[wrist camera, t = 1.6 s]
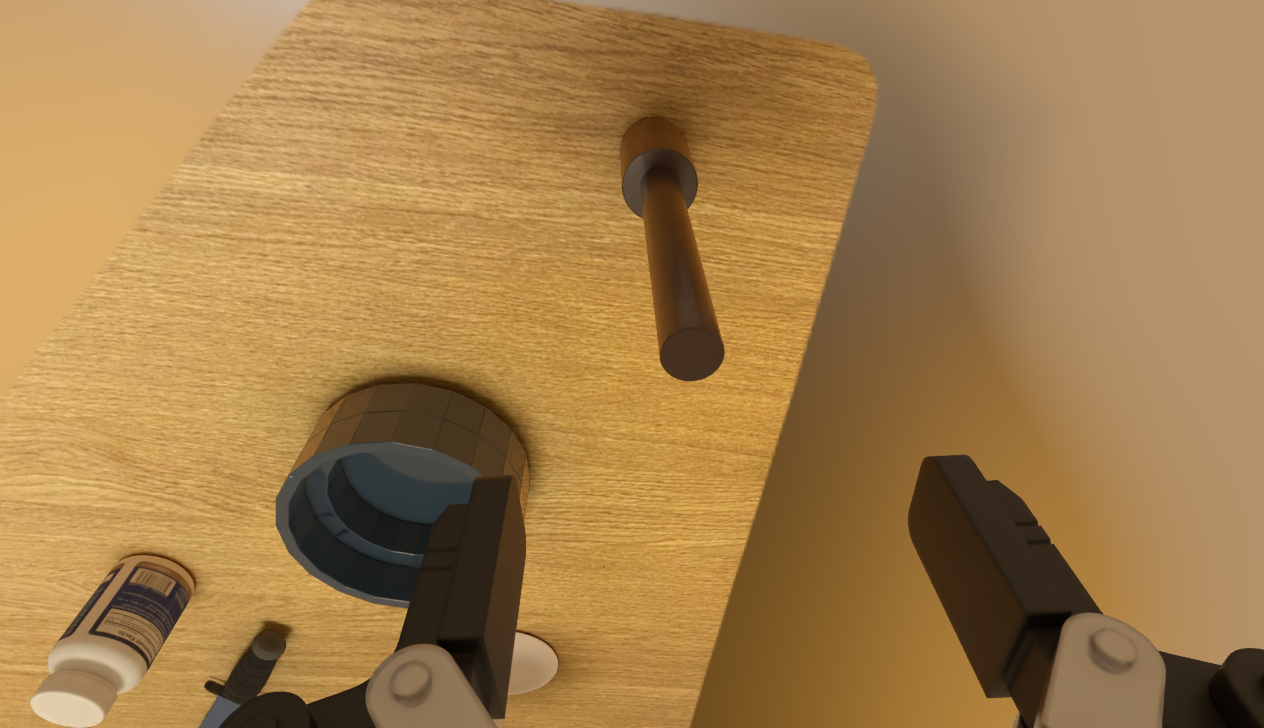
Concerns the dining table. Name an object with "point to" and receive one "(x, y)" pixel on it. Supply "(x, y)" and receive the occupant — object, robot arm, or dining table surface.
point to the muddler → (671, 246)
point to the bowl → (388, 484)
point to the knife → (245, 678)
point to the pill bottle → (112, 640)
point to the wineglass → (529, 666)
